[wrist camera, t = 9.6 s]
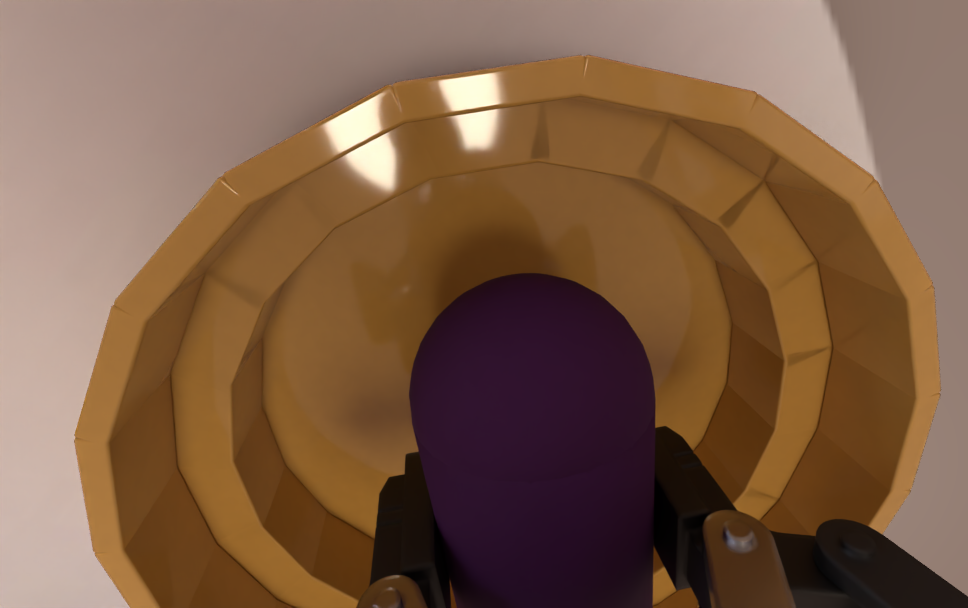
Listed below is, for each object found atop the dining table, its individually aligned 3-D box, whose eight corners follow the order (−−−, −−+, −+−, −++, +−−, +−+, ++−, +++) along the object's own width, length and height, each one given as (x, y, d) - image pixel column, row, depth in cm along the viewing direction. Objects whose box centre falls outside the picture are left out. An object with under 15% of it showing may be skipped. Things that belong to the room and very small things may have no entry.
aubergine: (392, 262, 11) (372, 377, 7) (600, 227, 12) (716, 315, 7) (468, 598, 16) (486, 794, 12) (613, 568, 17) (685, 749, 12)
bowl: (88, 131, 12) (-172, 164, 7) (806, 25, 13) (1069, -18, 8) (304, 613, 20) (261, 805, 15) (744, 525, 21) (855, 675, 16)
